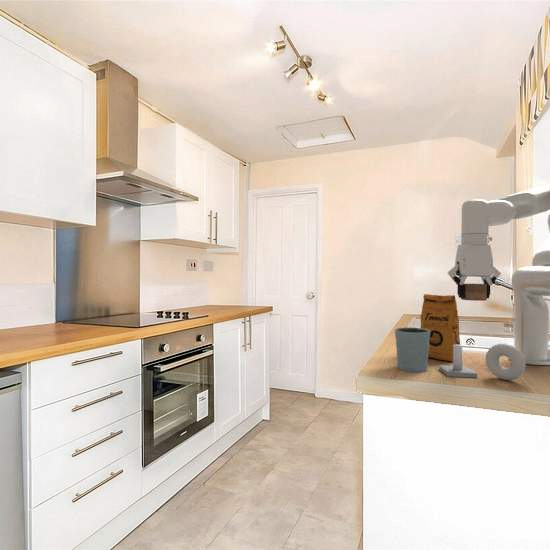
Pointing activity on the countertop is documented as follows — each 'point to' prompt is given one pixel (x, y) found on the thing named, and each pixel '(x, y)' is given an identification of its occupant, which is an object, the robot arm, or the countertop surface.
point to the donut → (515, 358)
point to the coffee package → (441, 325)
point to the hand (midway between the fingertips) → (473, 297)
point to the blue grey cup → (412, 349)
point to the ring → (475, 292)
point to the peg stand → (457, 365)
